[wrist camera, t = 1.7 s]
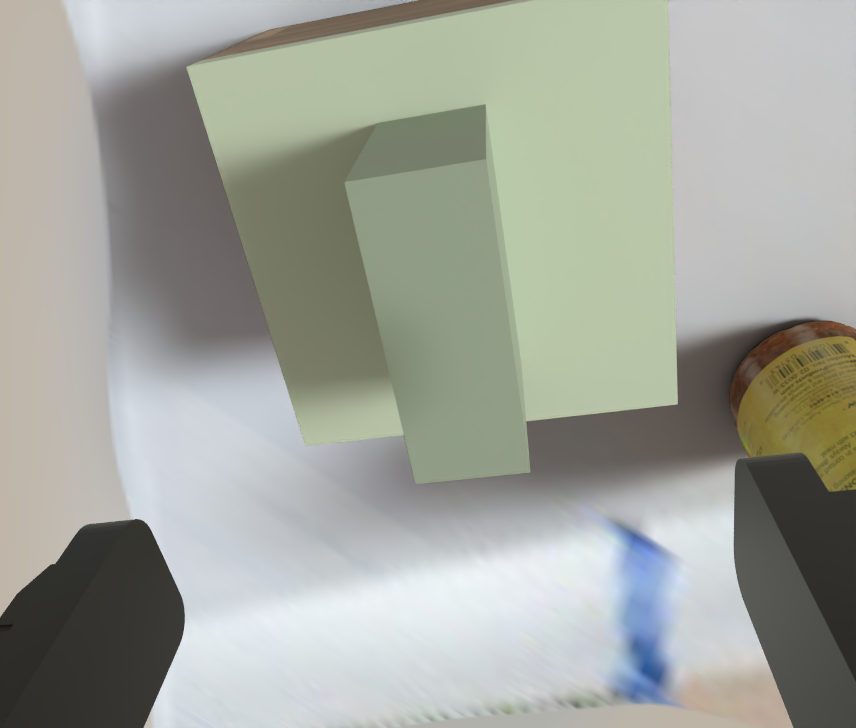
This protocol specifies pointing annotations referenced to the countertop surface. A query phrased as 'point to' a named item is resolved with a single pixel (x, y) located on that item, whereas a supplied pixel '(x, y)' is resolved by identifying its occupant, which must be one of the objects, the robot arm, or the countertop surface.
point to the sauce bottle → (801, 399)
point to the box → (353, 23)
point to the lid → (458, 222)
